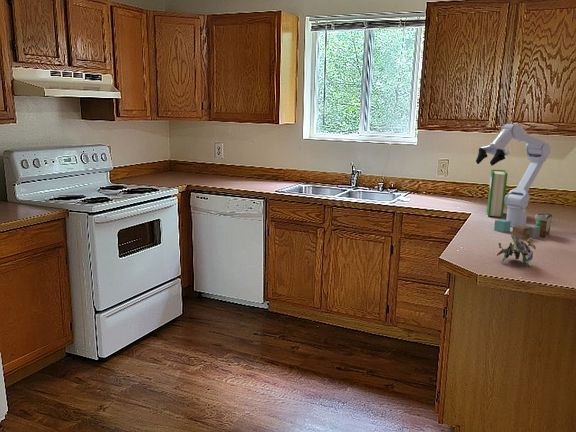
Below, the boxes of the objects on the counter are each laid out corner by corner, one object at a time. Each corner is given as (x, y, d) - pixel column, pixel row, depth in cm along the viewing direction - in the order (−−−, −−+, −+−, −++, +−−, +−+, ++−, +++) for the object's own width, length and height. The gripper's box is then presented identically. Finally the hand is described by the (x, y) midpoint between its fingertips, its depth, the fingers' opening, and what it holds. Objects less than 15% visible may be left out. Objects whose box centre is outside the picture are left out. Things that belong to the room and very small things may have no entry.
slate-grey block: (529, 235, 237) (531, 224, 236) (539, 237, 232) (540, 226, 231) (522, 236, 234) (523, 225, 233) (532, 238, 230) (533, 227, 229)
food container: (535, 231, 243) (538, 211, 241) (549, 233, 240) (552, 212, 238) (529, 236, 234) (532, 214, 232) (544, 238, 230) (547, 216, 228)
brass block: (518, 236, 234) (519, 225, 233) (528, 238, 230) (529, 227, 229) (511, 237, 231) (512, 226, 230) (521, 239, 227) (523, 228, 226)
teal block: (500, 229, 247) (501, 219, 246) (509, 231, 243) (511, 221, 242) (494, 230, 245) (495, 220, 244) (503, 232, 241) (504, 222, 240)
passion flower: (525, 281, 188) (537, 259, 178) (490, 271, 191) (501, 249, 181) (528, 256, 196) (540, 233, 186) (495, 247, 199) (505, 224, 189)
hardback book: (502, 218, 275) (507, 173, 270) (487, 216, 277) (492, 172, 272) (500, 212, 291) (505, 170, 286) (486, 211, 293) (491, 169, 289)
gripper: (483, 135, 243) (467, 155, 240) (511, 137, 231) (494, 158, 228) (488, 146, 247) (473, 166, 243) (516, 149, 235) (500, 169, 231)
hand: (484, 163), depth 236 cm, fingers open, 7 cm apart
